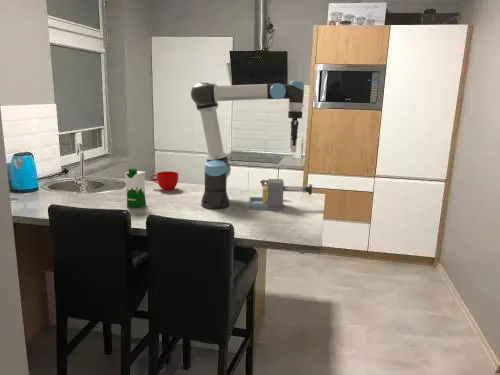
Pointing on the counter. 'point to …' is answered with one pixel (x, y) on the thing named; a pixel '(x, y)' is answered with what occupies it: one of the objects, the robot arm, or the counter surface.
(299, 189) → the shaft
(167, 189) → the ceramic cup
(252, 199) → the tray
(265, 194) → the brass ring
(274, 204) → the bearing block
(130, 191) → the milk carton
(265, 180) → the mechanical component
